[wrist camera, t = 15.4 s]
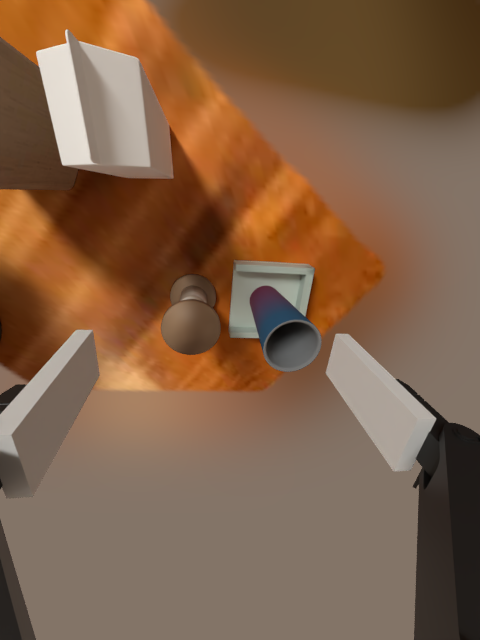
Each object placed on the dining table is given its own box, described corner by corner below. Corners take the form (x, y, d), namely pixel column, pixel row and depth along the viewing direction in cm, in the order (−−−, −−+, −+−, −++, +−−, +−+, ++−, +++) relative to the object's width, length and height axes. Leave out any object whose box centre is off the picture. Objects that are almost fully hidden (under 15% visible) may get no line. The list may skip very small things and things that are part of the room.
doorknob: (171, 315, 44) (161, 354, 34) (170, 272, 41) (160, 301, 31) (214, 316, 45) (219, 354, 35) (216, 275, 43) (222, 303, 32)
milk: (127, 178, 36) (34, 163, 16) (119, 121, 33) (-5, 20, 13) (175, 178, 36) (142, 165, 17) (170, 123, 34) (125, 29, 14)
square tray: (228, 329, 47) (230, 337, 44) (233, 259, 42) (235, 264, 39) (295, 331, 49) (300, 338, 46) (308, 264, 44) (314, 268, 41)
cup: (237, 311, 45) (253, 363, 31) (254, 273, 42) (279, 311, 29) (274, 324, 47) (304, 377, 33) (292, 288, 44) (332, 330, 31)
